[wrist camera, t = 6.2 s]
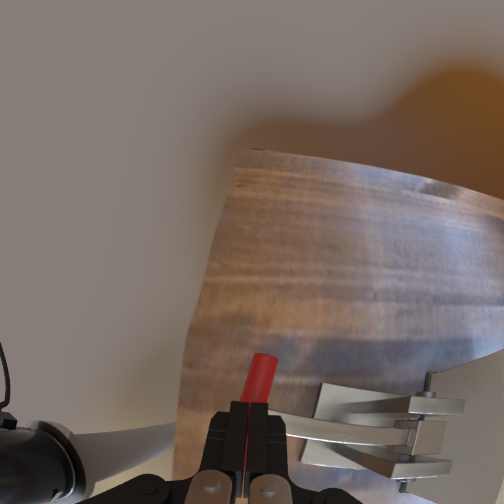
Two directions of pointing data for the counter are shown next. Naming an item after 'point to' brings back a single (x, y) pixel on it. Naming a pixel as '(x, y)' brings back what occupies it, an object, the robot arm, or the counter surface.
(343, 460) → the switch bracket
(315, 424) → the switch lever
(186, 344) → the counter surface
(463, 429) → the toaster
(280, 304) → the counter surface
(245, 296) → the counter surface
